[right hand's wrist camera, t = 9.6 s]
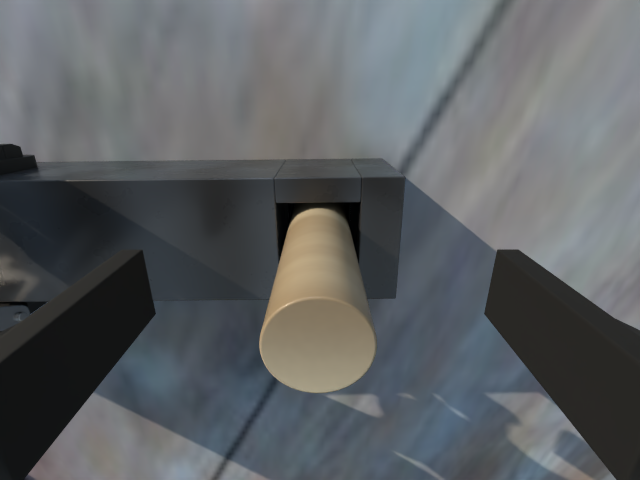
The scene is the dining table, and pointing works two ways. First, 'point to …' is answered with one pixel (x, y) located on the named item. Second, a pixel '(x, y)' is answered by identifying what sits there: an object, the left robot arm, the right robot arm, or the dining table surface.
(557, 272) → the dining table surface
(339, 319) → the peg
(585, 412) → the right robot arm
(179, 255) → the peg board
